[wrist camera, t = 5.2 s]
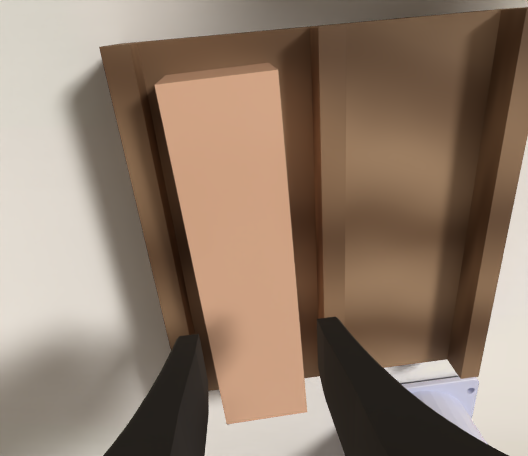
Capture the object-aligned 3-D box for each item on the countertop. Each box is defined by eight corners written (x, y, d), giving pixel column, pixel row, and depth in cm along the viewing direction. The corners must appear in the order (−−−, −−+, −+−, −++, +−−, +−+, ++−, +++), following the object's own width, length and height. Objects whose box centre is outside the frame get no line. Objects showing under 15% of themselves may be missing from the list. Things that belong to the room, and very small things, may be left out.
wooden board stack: (451, 339, 25) (478, 376, 23) (190, 373, 25) (186, 416, 22) (502, 9, 17) (553, 5, 15) (118, 43, 17) (99, 47, 14)
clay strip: (297, 367, 23) (307, 412, 20) (226, 377, 23) (226, 424, 20) (268, 62, 16) (278, 69, 13) (165, 75, 16) (154, 84, 13)
